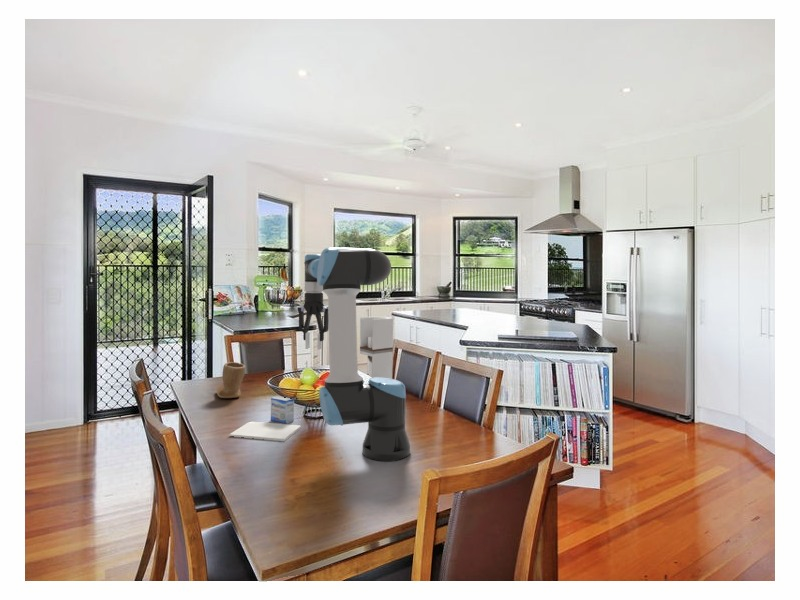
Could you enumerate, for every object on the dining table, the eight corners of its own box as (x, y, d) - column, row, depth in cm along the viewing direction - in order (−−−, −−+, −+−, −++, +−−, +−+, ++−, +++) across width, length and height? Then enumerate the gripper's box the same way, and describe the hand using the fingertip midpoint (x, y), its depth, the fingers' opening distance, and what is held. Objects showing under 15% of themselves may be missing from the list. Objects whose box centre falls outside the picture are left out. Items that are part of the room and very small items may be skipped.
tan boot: (246, 398, 207) (246, 365, 206) (217, 401, 202) (217, 366, 202) (243, 390, 221) (243, 358, 220) (216, 392, 216) (216, 360, 215)
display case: (378, 387, 232) (379, 316, 229) (392, 391, 224) (393, 318, 221) (359, 390, 224) (360, 317, 222) (372, 395, 216) (373, 319, 214)
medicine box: (270, 420, 178) (270, 398, 178) (278, 417, 182) (278, 395, 182) (286, 424, 175) (286, 401, 174) (294, 420, 179) (294, 398, 178)
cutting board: (284, 441, 157) (284, 439, 157) (229, 436, 161) (229, 434, 161) (300, 427, 171) (300, 425, 171) (250, 423, 174) (249, 421, 174)
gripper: (337, 292, 195) (336, 348, 197) (297, 291, 198) (297, 346, 200) (331, 293, 188) (330, 351, 189) (289, 292, 191) (289, 349, 192)
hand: (313, 348), depth 194 cm, fingers open, 4 cm apart
